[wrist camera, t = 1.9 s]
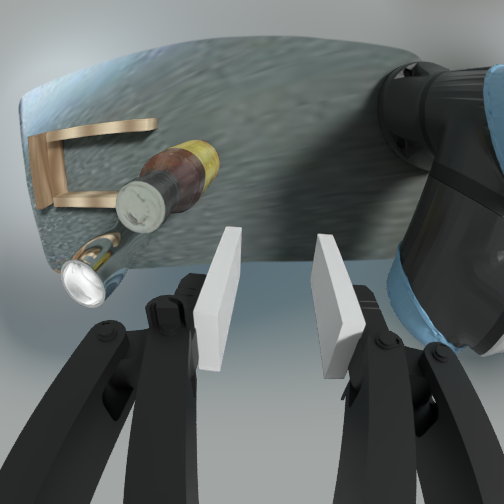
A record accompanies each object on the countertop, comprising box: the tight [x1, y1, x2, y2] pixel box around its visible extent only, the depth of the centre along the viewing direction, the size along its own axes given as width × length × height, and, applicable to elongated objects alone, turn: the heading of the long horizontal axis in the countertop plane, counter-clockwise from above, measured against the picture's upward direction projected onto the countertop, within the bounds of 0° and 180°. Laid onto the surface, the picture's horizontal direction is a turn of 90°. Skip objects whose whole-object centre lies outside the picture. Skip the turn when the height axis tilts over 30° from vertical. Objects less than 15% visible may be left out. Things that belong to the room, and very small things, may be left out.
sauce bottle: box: [115, 140, 219, 234], centre depth 28 cm, size 7×6×20 cm
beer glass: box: [61, 219, 150, 308], centre depth 36 cm, size 7×7×15 cm
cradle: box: [28, 118, 157, 209], centre depth 36 cm, size 22×12×4 cm, turn 87°
